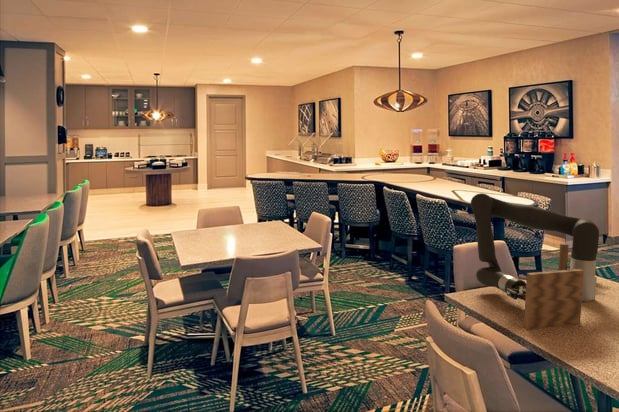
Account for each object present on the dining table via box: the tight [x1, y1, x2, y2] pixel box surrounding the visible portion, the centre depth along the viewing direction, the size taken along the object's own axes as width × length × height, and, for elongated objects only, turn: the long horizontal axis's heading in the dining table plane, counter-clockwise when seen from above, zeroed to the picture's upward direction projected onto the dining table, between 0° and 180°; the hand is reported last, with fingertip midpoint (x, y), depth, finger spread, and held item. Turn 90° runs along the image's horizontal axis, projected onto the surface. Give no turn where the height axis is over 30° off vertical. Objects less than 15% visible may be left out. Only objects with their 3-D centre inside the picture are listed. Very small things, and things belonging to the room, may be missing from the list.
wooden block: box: [557, 242, 570, 271], centre depth 229 cm, size 4×11×18 cm, turn 58°
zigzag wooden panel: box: [523, 269, 584, 330], centre depth 181 cm, size 22×7×20 cm, turn 103°
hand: (539, 298), depth 186 cm, fingers open, 8 cm apart
